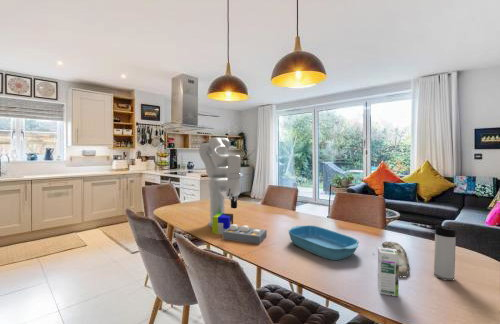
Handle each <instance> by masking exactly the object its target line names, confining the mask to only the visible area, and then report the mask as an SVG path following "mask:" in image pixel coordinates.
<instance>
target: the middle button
mask: <svg viewBox="0 0 500 324" xmlns="http://www.w3.org/2000/svg"><path fill="white" fill-rule="evenodd" d="M240 227H241V232H246V233H248V232H249V228H250V227H249V225H241V226H240Z"/></svg>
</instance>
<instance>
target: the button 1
mask: <svg viewBox="0 0 500 324" xmlns="http://www.w3.org/2000/svg"><path fill="white" fill-rule="evenodd" d="M238 227H239V224H236V223H233V224H231V225H230V231H237V230H238Z"/></svg>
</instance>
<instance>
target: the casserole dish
mask: <svg viewBox="0 0 500 324" xmlns="http://www.w3.org/2000/svg"><path fill="white" fill-rule="evenodd" d="M288 234H289V235H288V236H289V238H290V240H291V242H292V243H293V244H294V245H295V246H297V247H298V248H301V249H303V250H306V251H308V252H310V253H312V254H314V255H316V254H317V255H316V256H320V257H321V256H322V258H323V259H326V258H327V259H326V260H329V259H330V261H340V260H343V259H346V258H348V257H350V256H352V255H354V253H355V252H356V250H357V249H358V247H359V243H360V241H359V240H358V239H356V238H355V237H351V236H348V235H346V234H343V233H340V232H337V231H334V230H331V229H328V228H324V227H321V226H317V225H296V226H293V227H291V228H290V229H288Z"/></svg>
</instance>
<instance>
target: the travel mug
mask: <svg viewBox="0 0 500 324" xmlns="http://www.w3.org/2000/svg"><path fill="white" fill-rule="evenodd" d="M434 227H435V230H434V259H433V261H434V262H433V275H434V276H435V277H436V276H437V277H439V278H442V279H446V280H453V279H454V278H455V277H456V276H455V273H456V272H455V271H456V244H457V243H456V241H457V240H456V238H457V236H456V233H457V230H456V229H454V228H451V227H449V226H444V225H435V226H434ZM437 277H436V278H437ZM439 278H438V279H439ZM442 279H441V280H442ZM455 279H456V278H455ZM455 279H454V280H455ZM446 280H445V281H446ZM454 280H453V281H454Z"/></svg>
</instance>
